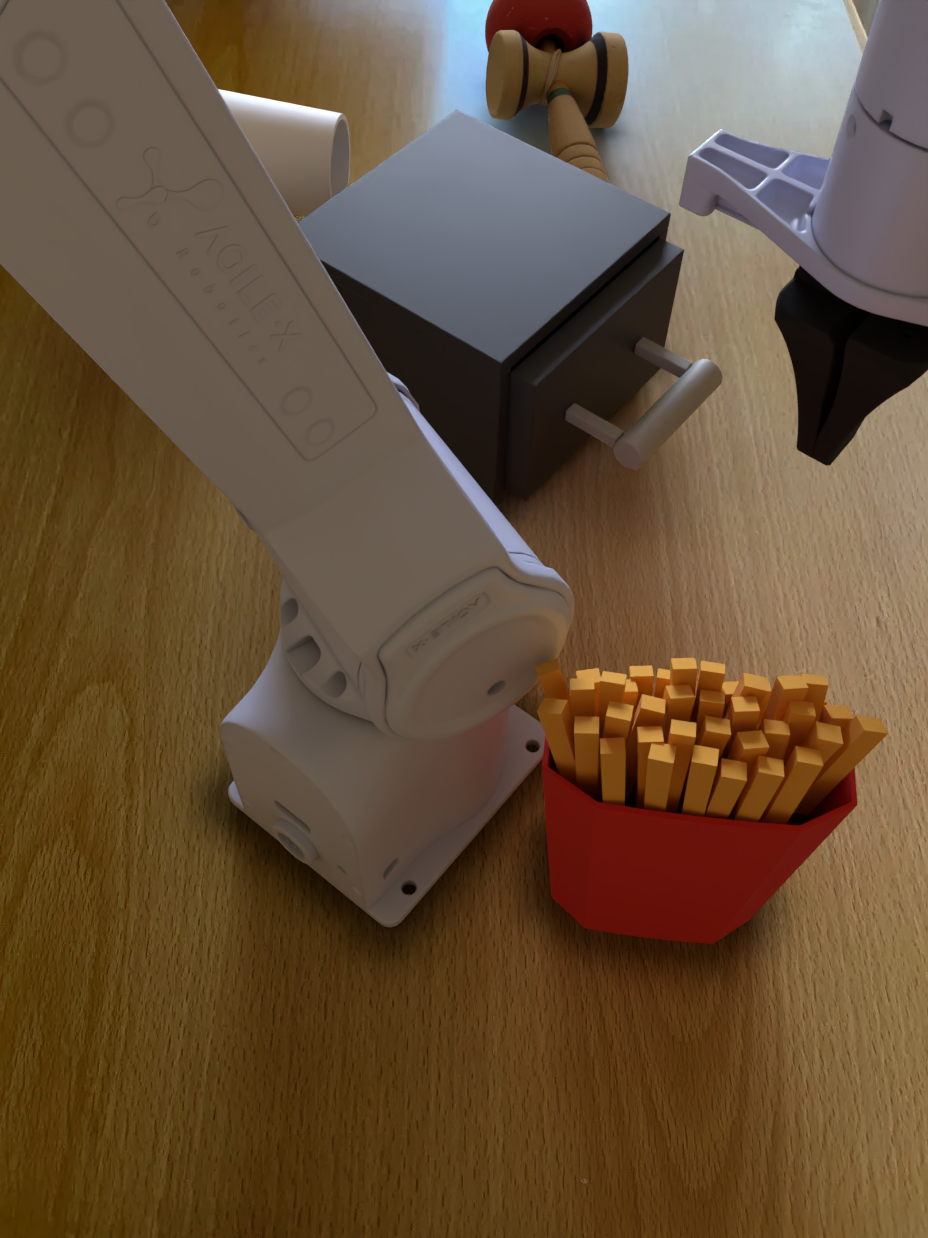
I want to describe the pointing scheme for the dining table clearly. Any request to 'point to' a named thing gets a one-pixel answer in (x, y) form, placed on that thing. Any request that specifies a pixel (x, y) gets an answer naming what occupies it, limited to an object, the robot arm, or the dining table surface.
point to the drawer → (603, 376)
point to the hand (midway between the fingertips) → (824, 442)
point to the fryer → (473, 268)
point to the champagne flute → (296, 148)
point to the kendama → (556, 73)
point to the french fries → (689, 792)
